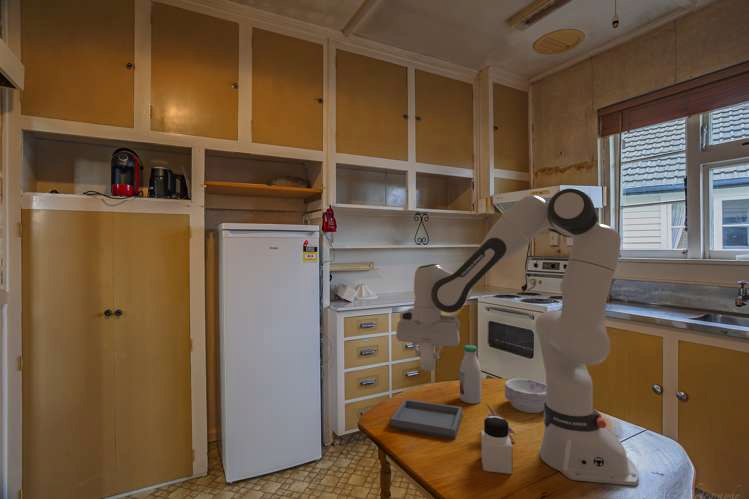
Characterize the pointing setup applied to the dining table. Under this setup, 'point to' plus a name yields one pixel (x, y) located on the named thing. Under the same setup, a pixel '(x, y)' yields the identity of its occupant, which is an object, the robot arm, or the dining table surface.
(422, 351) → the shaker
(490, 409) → the lily
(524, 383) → the paper bowls
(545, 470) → the dining table surface
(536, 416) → the dining table surface
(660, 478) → the dining table surface
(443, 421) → the tray
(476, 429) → the dining table surface
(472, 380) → the milk bottle
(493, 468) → the medicine bottle
